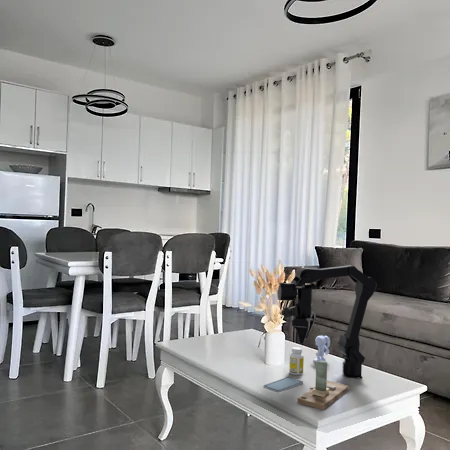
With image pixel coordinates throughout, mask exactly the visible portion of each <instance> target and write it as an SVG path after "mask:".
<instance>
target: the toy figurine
mask: <svg viewBox="0 0 450 450" xmlns="http://www.w3.org/2000/svg"><path fill="white" fill-rule="evenodd" d="M314 340H315V345H316V346H317V349H318V350H317V352H316V353H315V356H316V358H313V360H312V362H313V363H316V361H326V362H327V360H326V358H325V356H326V355H329V354H330V349H329V348H330V345H331V338H330V337H329V336H327V335H323V334H320V335H318V336H316V338H315V339H314ZM324 355H325V356H324Z"/></svg>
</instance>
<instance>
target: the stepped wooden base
mask: <svg viewBox="0 0 450 450" xmlns="http://www.w3.org/2000/svg"><path fill="white" fill-rule="evenodd" d="M313 388H315V386H314V387H313ZM326 388H329V393H328V394H327V395H325V396H324V397H321V396H318V395H314V394H312V390H311V389H309V390H308V391H306V392H304V393H303V394H302V395H299V396H298V398H297V400H296V401H297V402H296V403H297V404H298V405H299V404H300V405H304V406H307V407H311V408H314V409H319V410H322V411H324V410H325V409H327V408H328V407H329V406H330V405H332V404H333V403H334V402H336V401H337V400H339V398H341V397H342V396H343V395H344V394H346V393H347V392H348V391H349V390H350V385H347V384H344V383H338V382H335V381H334V382H333V381H330V380H327V385H326ZM340 396H341V397H340Z"/></svg>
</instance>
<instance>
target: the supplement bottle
mask: <svg viewBox="0 0 450 450" xmlns="http://www.w3.org/2000/svg"><path fill="white" fill-rule="evenodd" d="M304 356H305V355H304V354H303V348H302V347H298V346H293V347H291V353H290V354H289V369H288V370H289V373H290V374H291V375H294V376H301V375H304V361H305V359H304Z"/></svg>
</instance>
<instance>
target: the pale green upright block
mask: <svg viewBox="0 0 450 450" xmlns="http://www.w3.org/2000/svg"><path fill="white" fill-rule="evenodd" d="M315 363H316V364H315V386H314V387H315V388H314V387H311V386H310V387H309V390H312V394H314V395H318V396H321V397H324V396H325V395H327V394H328V393H329V388H326V385H327V381H328V379H327V377H328V361H327V360H326V361H316V362H315Z"/></svg>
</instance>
